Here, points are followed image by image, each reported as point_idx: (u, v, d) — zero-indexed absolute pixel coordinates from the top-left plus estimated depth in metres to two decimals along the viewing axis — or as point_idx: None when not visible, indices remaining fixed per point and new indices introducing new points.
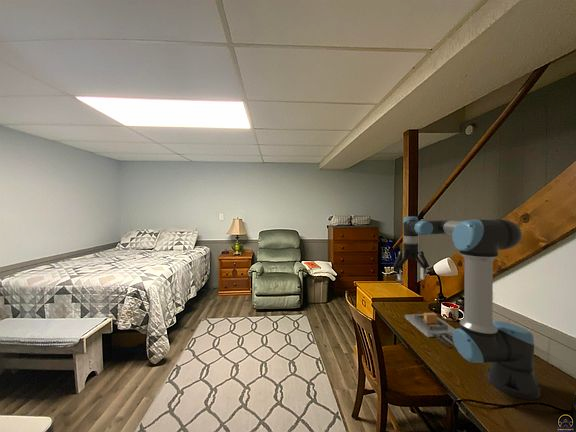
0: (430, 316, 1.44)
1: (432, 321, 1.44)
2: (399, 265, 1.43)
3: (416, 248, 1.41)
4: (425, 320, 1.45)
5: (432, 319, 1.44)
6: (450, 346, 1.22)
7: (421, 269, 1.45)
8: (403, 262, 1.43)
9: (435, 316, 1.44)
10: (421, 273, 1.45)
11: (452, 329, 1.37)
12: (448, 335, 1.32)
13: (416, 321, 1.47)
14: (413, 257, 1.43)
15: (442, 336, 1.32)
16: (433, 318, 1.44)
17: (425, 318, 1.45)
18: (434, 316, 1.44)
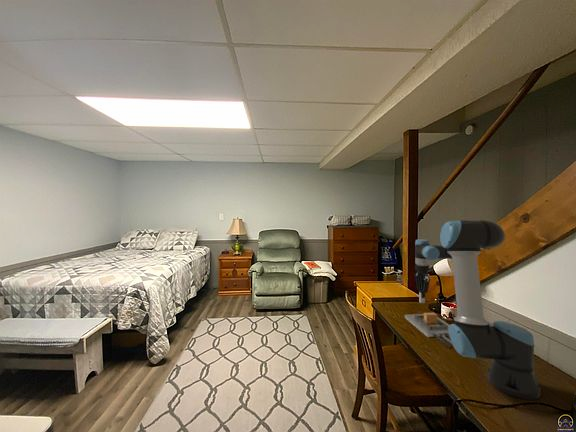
0: (430, 316, 1.44)
1: (432, 321, 1.44)
2: (418, 287, 1.55)
3: (418, 269, 1.51)
4: (425, 320, 1.45)
5: (432, 319, 1.44)
6: (450, 346, 1.22)
7: None
8: (419, 283, 1.54)
9: (435, 316, 1.44)
10: None
11: None
12: (448, 335, 1.32)
13: (416, 321, 1.47)
14: None
15: (442, 336, 1.32)
16: (433, 318, 1.44)
17: (425, 318, 1.45)
18: (434, 316, 1.44)
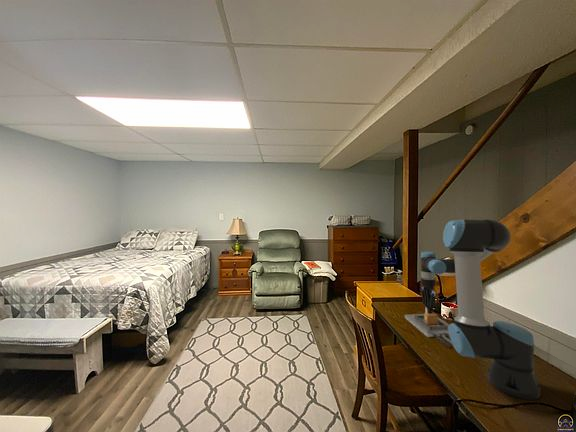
0: (431, 316, 1.43)
1: (433, 321, 1.43)
2: (424, 302, 1.48)
3: (424, 283, 1.45)
4: (426, 320, 1.44)
5: (433, 319, 1.43)
6: (450, 346, 1.22)
7: None
8: (425, 298, 1.48)
9: (436, 316, 1.43)
10: None
11: None
12: (448, 335, 1.32)
13: (416, 321, 1.47)
14: None
15: (442, 336, 1.32)
16: (434, 318, 1.43)
17: (426, 318, 1.44)
18: (435, 316, 1.43)
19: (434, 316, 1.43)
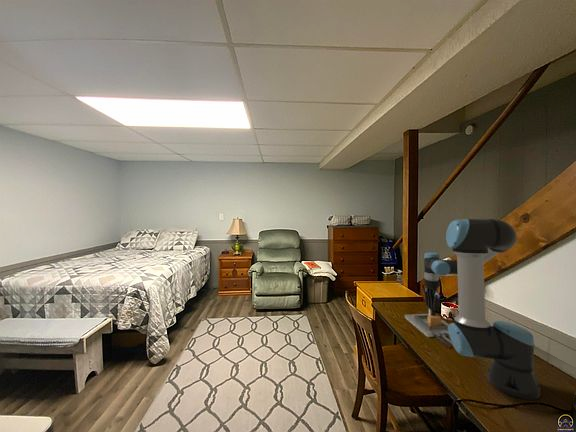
0: (434, 319, 1.40)
1: (436, 324, 1.40)
2: (427, 304, 1.45)
3: (427, 284, 1.42)
4: (429, 323, 1.41)
5: (436, 322, 1.40)
6: (450, 346, 1.22)
7: None
8: (428, 299, 1.45)
9: (439, 319, 1.40)
10: None
11: None
12: (448, 335, 1.32)
13: (416, 321, 1.47)
14: None
15: (442, 336, 1.32)
16: (437, 321, 1.40)
17: (429, 321, 1.41)
18: (438, 319, 1.40)
19: (438, 318, 1.40)
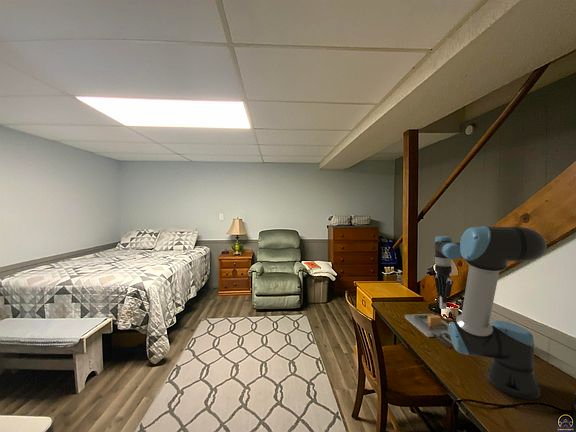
0: (434, 319, 1.40)
1: (436, 324, 1.40)
2: (438, 291, 1.35)
3: (438, 270, 1.31)
4: (429, 323, 1.41)
5: (436, 322, 1.40)
6: (450, 346, 1.22)
7: None
8: (439, 286, 1.34)
9: (439, 319, 1.40)
10: None
11: None
12: (448, 335, 1.32)
13: (416, 321, 1.47)
14: None
15: (442, 336, 1.32)
16: (437, 321, 1.40)
17: (429, 321, 1.41)
18: (438, 319, 1.40)
19: (438, 318, 1.40)
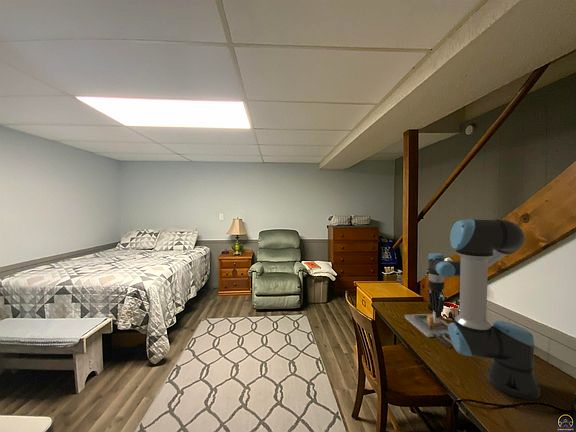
0: None
1: (436, 324, 1.40)
2: (432, 306, 1.41)
3: (432, 286, 1.38)
4: (428, 322, 1.42)
5: None
6: (450, 346, 1.22)
7: None
8: (432, 301, 1.41)
9: None
10: None
11: None
12: (448, 335, 1.32)
13: (416, 321, 1.47)
14: None
15: (442, 336, 1.32)
16: None
17: (428, 320, 1.42)
18: None
19: None
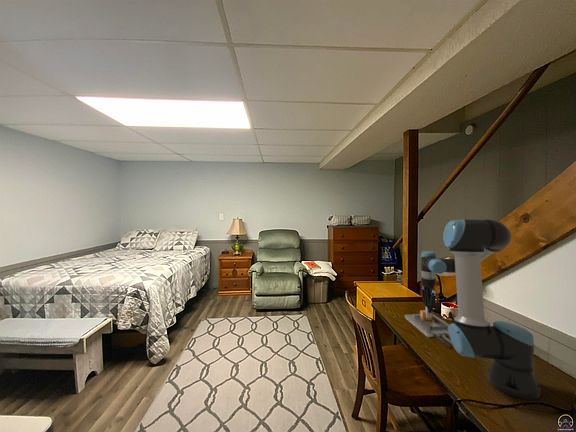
0: None
1: (428, 318, 1.48)
2: (424, 301, 1.48)
3: (424, 283, 1.45)
4: (421, 317, 1.49)
5: None
6: (450, 346, 1.22)
7: None
8: (425, 297, 1.48)
9: None
10: None
11: None
12: (448, 335, 1.32)
13: (416, 321, 1.47)
14: None
15: (442, 336, 1.32)
16: None
17: (421, 315, 1.49)
18: None
19: None
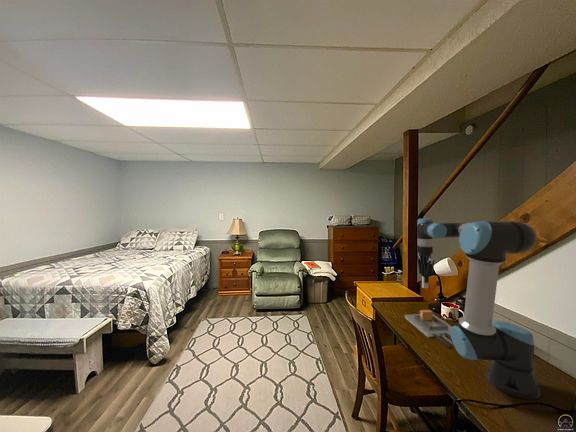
0: (426, 313, 1.48)
1: (428, 318, 1.48)
2: (421, 271, 1.41)
3: (420, 251, 1.37)
4: (421, 317, 1.49)
5: (428, 316, 1.48)
6: (450, 346, 1.22)
7: None
8: (421, 267, 1.40)
9: (431, 313, 1.48)
10: None
11: None
12: (448, 335, 1.32)
13: (416, 321, 1.47)
14: None
15: (442, 336, 1.32)
16: (429, 315, 1.48)
17: (421, 315, 1.49)
18: (430, 313, 1.48)
19: (429, 313, 1.48)
